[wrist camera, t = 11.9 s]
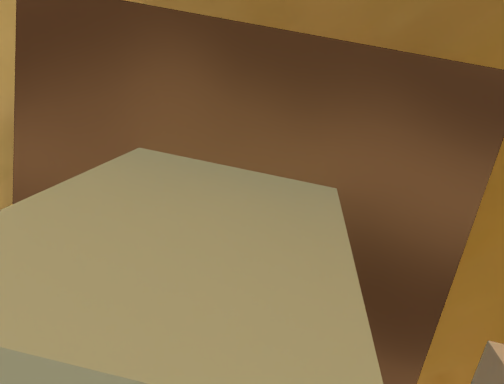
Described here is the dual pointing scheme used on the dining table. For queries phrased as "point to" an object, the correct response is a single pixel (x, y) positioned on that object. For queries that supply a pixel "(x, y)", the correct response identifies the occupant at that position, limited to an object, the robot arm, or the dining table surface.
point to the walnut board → (274, 133)
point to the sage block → (180, 280)
